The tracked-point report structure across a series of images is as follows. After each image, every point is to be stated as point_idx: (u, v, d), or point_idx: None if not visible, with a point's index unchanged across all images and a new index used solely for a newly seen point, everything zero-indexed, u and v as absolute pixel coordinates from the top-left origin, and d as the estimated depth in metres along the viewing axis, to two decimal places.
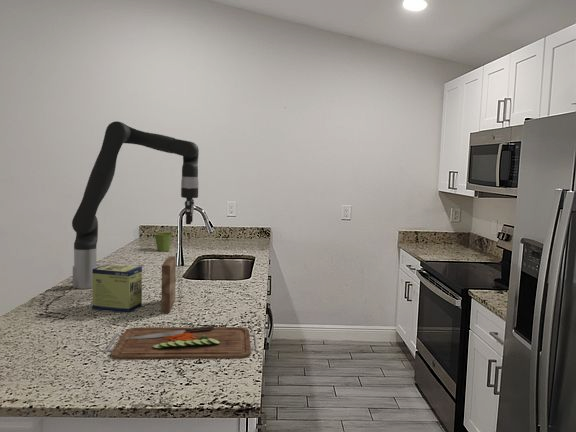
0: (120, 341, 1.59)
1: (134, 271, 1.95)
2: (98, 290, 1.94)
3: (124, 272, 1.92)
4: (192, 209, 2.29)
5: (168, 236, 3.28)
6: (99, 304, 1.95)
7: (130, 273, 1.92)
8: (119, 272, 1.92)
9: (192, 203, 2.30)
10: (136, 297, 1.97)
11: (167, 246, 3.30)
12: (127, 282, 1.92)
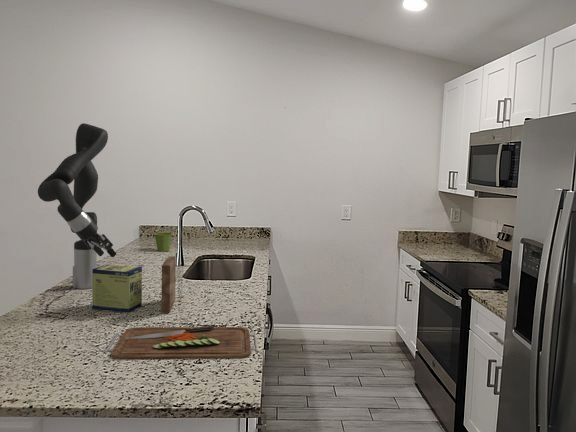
0: (120, 341, 1.59)
1: (134, 271, 1.95)
2: (98, 290, 1.94)
3: (124, 272, 1.92)
4: (89, 245, 1.99)
5: (168, 236, 3.28)
6: (99, 304, 1.95)
7: (130, 273, 1.92)
8: (119, 272, 1.92)
9: (88, 240, 1.97)
10: (136, 297, 1.97)
11: (167, 246, 3.30)
12: (127, 282, 1.92)
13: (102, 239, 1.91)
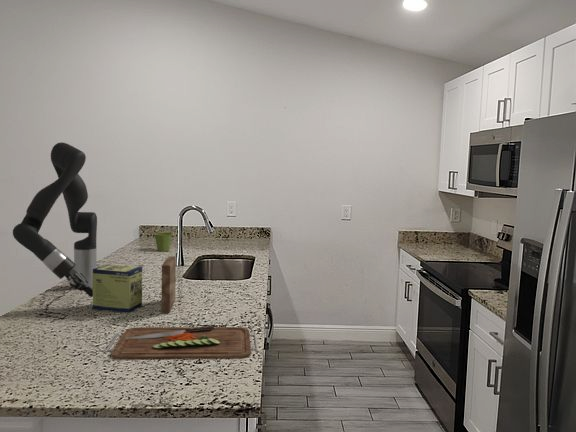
0: (120, 341, 1.59)
1: (134, 271, 1.95)
2: (98, 290, 1.94)
3: (124, 272, 1.92)
4: None
5: (168, 236, 3.28)
6: (99, 304, 1.95)
7: (130, 273, 1.92)
8: (119, 272, 1.92)
9: None
10: (136, 297, 1.97)
11: (167, 246, 3.30)
12: (128, 282, 1.92)
13: (73, 285, 1.90)
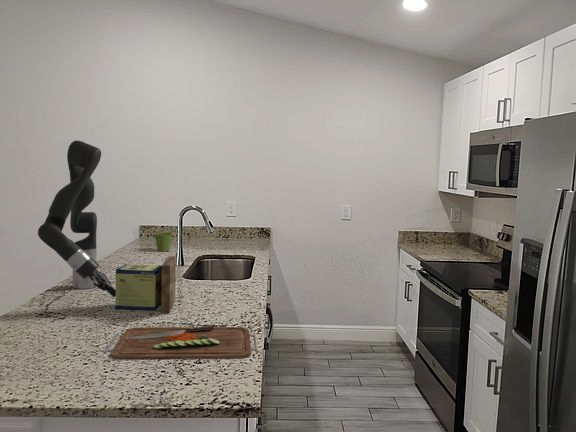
0: (120, 341, 1.59)
1: (158, 270, 1.98)
2: (122, 289, 1.95)
3: (150, 271, 1.95)
4: None
5: (168, 236, 3.28)
6: (122, 304, 1.96)
7: (156, 272, 1.95)
8: (145, 271, 1.95)
9: None
10: (159, 295, 2.01)
11: (167, 246, 3.30)
12: (153, 281, 1.95)
13: (97, 285, 1.92)
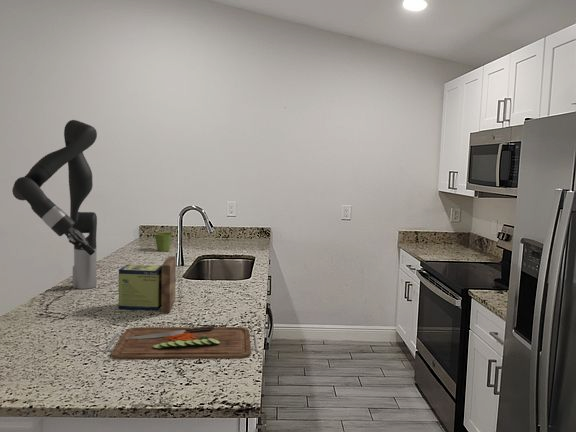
0: (120, 341, 1.59)
1: (161, 270, 1.99)
2: (125, 290, 1.95)
3: (153, 271, 1.95)
4: None
5: (168, 236, 3.28)
6: (126, 304, 1.96)
7: (159, 272, 1.96)
8: (148, 271, 1.95)
9: None
10: None
11: (167, 246, 3.30)
12: (157, 281, 1.95)
13: (72, 242, 1.89)
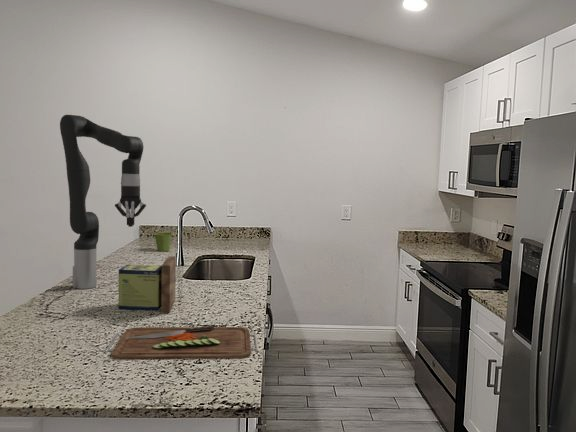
0: (120, 341, 1.59)
1: (161, 270, 1.99)
2: (125, 290, 1.95)
3: (153, 271, 1.95)
4: None
5: (168, 236, 3.28)
6: (126, 304, 1.96)
7: (159, 272, 1.96)
8: (148, 271, 1.95)
9: (125, 203, 2.14)
10: None
11: (167, 246, 3.30)
12: (157, 281, 1.95)
13: (144, 207, 2.16)
